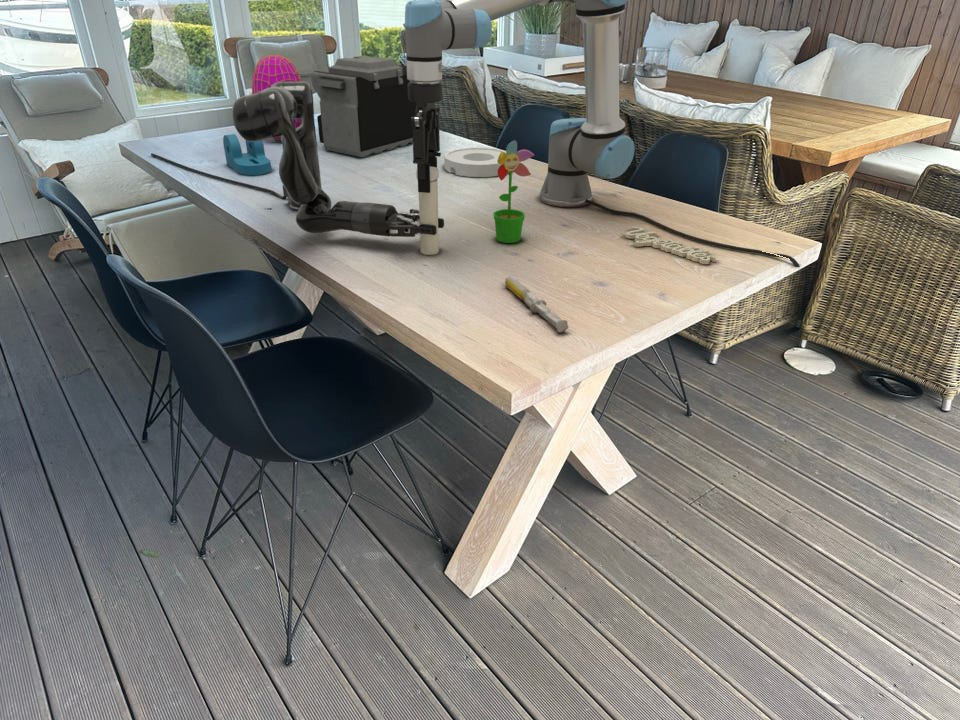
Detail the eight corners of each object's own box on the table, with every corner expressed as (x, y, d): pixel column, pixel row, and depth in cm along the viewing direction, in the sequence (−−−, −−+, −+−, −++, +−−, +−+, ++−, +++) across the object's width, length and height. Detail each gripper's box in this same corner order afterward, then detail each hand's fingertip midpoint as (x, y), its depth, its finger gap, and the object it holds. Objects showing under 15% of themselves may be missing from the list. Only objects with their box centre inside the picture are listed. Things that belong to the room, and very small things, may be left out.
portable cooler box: (383, 133, 276) (378, 52, 261) (425, 141, 265) (422, 56, 250) (314, 150, 251) (304, 61, 235) (358, 160, 240) (350, 67, 224)
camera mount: (227, 164, 233) (221, 132, 227) (257, 160, 238) (252, 129, 233) (244, 176, 220) (239, 143, 215) (276, 172, 225) (271, 139, 220)
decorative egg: (293, 132, 276) (283, 50, 261) (319, 140, 264) (310, 56, 249) (249, 139, 265) (236, 54, 250) (273, 148, 253) (261, 60, 238)
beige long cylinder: (417, 250, 167) (414, 171, 158) (432, 247, 170) (430, 168, 160) (426, 256, 164) (424, 176, 155) (442, 252, 167) (440, 173, 157)
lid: (429, 181, 155) (429, 173, 154) (412, 178, 157) (411, 169, 156) (443, 176, 158) (443, 168, 157) (425, 173, 161) (425, 165, 160)
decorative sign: (611, 234, 176) (635, 225, 181) (610, 237, 176) (634, 229, 182) (700, 264, 159) (723, 254, 164) (699, 268, 159) (723, 257, 165)
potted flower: (500, 246, 170) (503, 143, 157) (485, 236, 176) (487, 136, 163) (533, 241, 173) (538, 139, 161) (517, 231, 179) (521, 133, 167)
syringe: (500, 283, 150) (500, 272, 149) (516, 281, 152) (516, 270, 150) (551, 335, 131) (552, 322, 129) (568, 332, 132) (569, 319, 130)
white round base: (447, 158, 243) (446, 146, 241) (512, 159, 243) (512, 148, 241) (441, 176, 223) (441, 164, 221) (512, 177, 223) (513, 165, 221)
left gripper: (360, 213, 159) (428, 221, 155) (385, 195, 171) (449, 202, 167) (362, 243, 163) (429, 252, 159) (387, 224, 175) (450, 232, 171)
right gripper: (429, 89, 139) (432, 201, 151) (453, 76, 154) (453, 179, 166) (394, 87, 140) (399, 198, 152) (421, 74, 156) (424, 176, 167)
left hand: (439, 226), depth 163 cm, fingers closed on beige long cylinder, 4 cm apart
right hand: (427, 188), depth 159 cm, fingers closed on lid, 5 cm apart
